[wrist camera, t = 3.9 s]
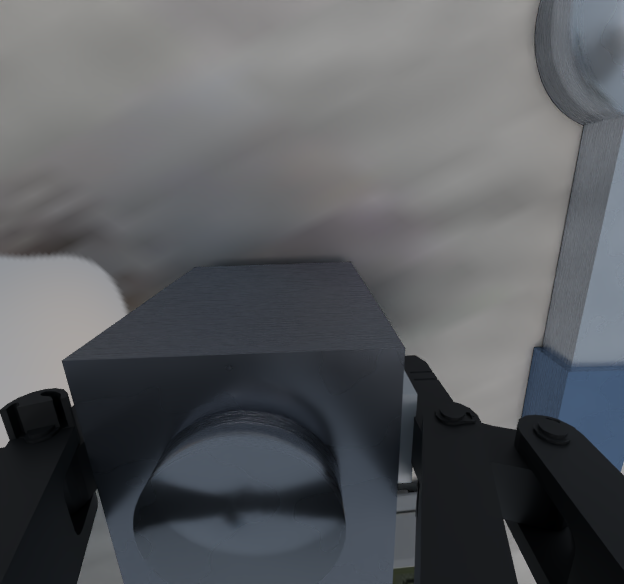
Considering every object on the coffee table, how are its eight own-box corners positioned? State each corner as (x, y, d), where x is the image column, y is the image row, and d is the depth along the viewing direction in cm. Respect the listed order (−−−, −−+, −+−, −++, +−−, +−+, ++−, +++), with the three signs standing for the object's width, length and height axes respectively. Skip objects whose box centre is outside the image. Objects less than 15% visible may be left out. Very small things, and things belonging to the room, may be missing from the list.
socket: (213, 401, 16) (104, 651, 7) (195, 267, 14) (18, 390, 5) (350, 396, 16) (403, 638, 7) (350, 261, 14) (422, 375, 5)
